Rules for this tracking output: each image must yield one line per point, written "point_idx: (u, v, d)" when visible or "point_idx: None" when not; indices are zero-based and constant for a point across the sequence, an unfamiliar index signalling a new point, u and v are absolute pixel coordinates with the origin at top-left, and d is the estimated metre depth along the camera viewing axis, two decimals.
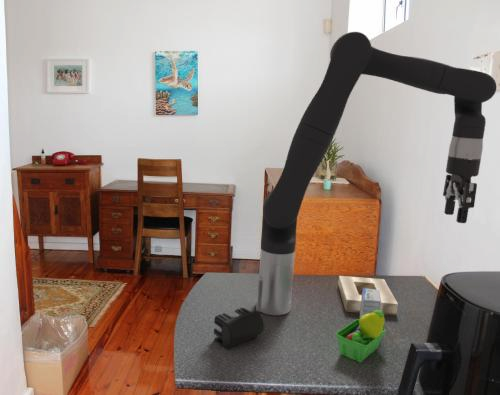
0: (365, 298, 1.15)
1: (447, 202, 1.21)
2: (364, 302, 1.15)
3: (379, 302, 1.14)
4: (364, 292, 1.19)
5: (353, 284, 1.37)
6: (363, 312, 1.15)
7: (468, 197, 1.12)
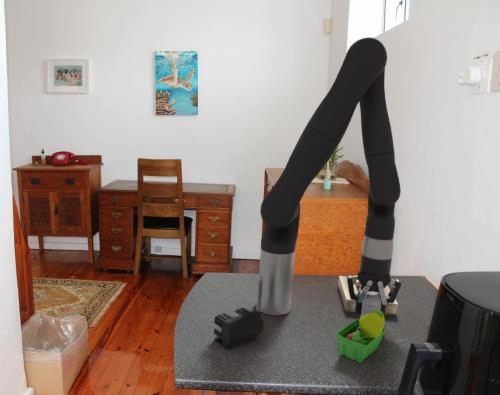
0: (365, 298, 1.15)
1: (361, 304, 1.18)
2: (364, 302, 1.15)
3: (379, 302, 1.14)
4: None
5: None
6: (363, 312, 1.15)
7: None
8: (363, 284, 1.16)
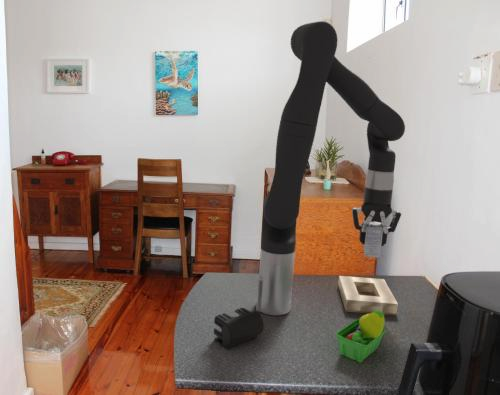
0: (368, 227, 1.28)
1: None
2: (367, 230, 1.27)
3: (381, 229, 1.26)
4: None
5: (353, 284, 1.37)
6: (366, 239, 1.27)
7: None
8: (366, 215, 1.29)
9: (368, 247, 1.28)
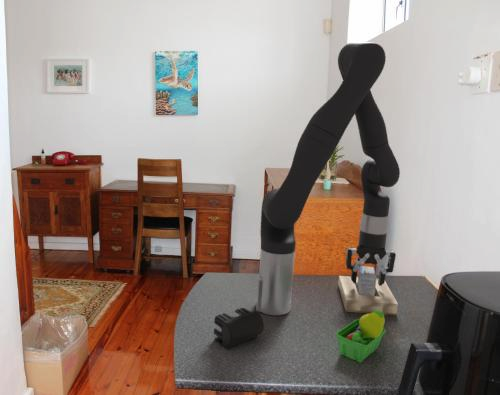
0: (362, 274, 1.31)
1: (356, 273, 1.33)
2: (361, 277, 1.30)
3: (375, 277, 1.29)
4: (361, 269, 1.35)
5: (353, 284, 1.37)
6: (361, 286, 1.30)
7: None
8: (361, 256, 1.31)
9: (362, 294, 1.31)
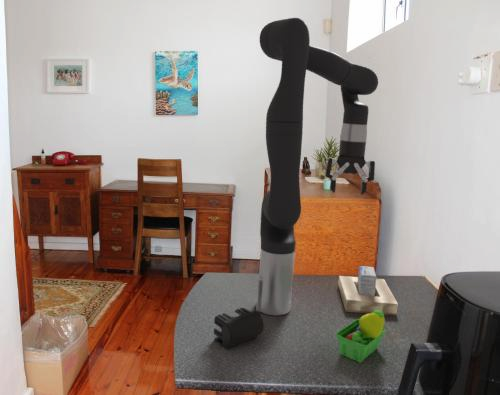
0: (362, 274, 1.31)
1: (335, 182, 1.37)
2: (361, 277, 1.30)
3: (375, 277, 1.29)
4: (361, 269, 1.35)
5: (353, 284, 1.37)
6: (361, 286, 1.30)
7: None
8: (341, 165, 1.36)
9: (362, 294, 1.31)
